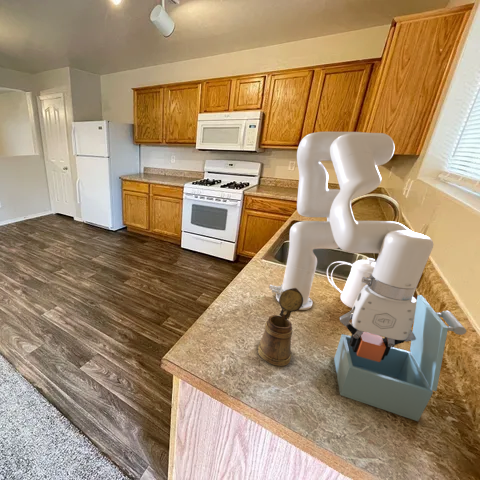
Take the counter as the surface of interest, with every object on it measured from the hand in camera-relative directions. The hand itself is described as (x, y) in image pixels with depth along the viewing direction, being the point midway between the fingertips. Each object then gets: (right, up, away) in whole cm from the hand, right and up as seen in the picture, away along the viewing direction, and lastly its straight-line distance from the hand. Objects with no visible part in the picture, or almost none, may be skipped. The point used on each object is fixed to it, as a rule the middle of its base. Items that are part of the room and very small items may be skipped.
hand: (366, 351), depth 64 cm
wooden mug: (-16, -5, +14) cm, 22 cm away
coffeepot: (+24, +3, +35) cm, 43 cm away
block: (0, 0, 0) cm, 0 cm away
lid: (+8, +5, -6) cm, 11 cm away
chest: (+3, -10, +2) cm, 10 cm away
